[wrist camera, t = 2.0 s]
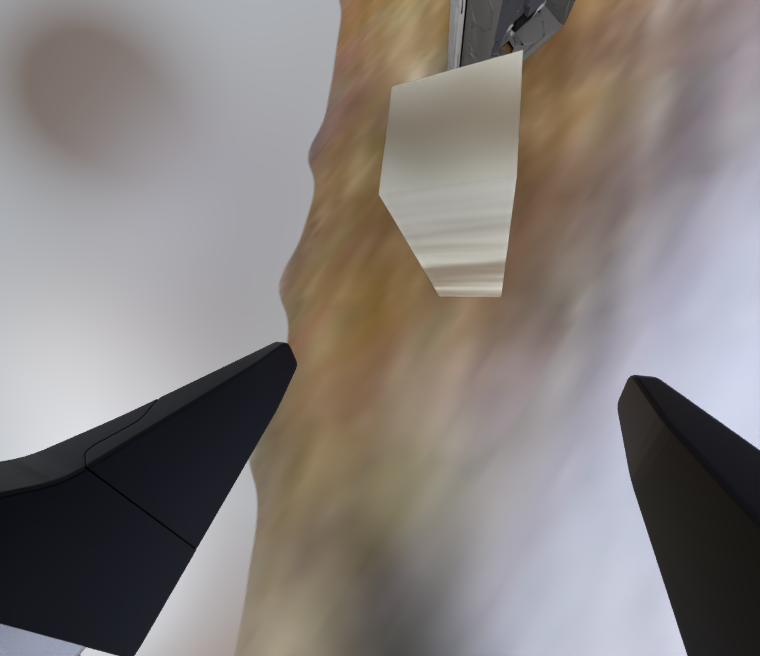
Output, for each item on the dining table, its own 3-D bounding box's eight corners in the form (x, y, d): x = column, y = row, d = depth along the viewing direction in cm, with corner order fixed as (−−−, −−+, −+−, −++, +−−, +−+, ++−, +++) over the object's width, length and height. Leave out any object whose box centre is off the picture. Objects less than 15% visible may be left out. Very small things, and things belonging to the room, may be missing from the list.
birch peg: (501, 297, 20) (516, 175, 8) (439, 296, 22) (378, 193, 10) (504, 239, 21) (522, 50, 9) (444, 242, 23) (392, 86, 11)
